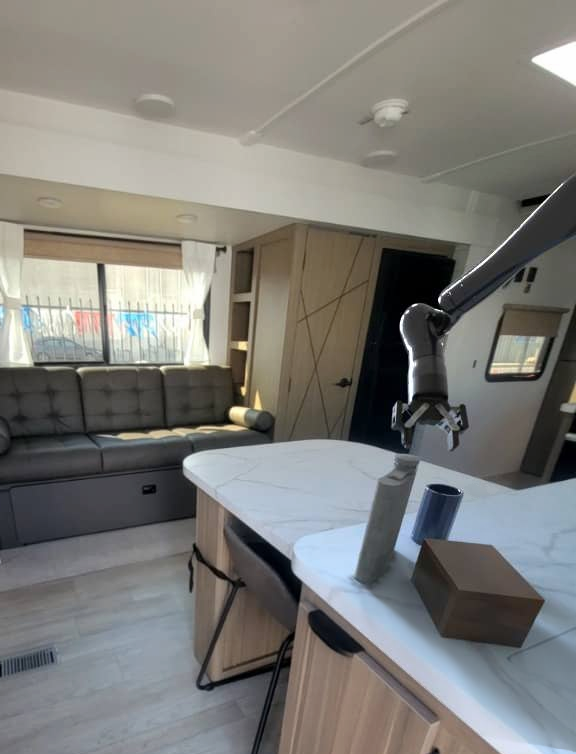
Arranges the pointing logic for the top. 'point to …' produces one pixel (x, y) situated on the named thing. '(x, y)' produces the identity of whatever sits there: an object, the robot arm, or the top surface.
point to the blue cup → (437, 512)
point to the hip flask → (386, 518)
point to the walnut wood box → (475, 593)
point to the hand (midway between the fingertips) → (430, 448)
